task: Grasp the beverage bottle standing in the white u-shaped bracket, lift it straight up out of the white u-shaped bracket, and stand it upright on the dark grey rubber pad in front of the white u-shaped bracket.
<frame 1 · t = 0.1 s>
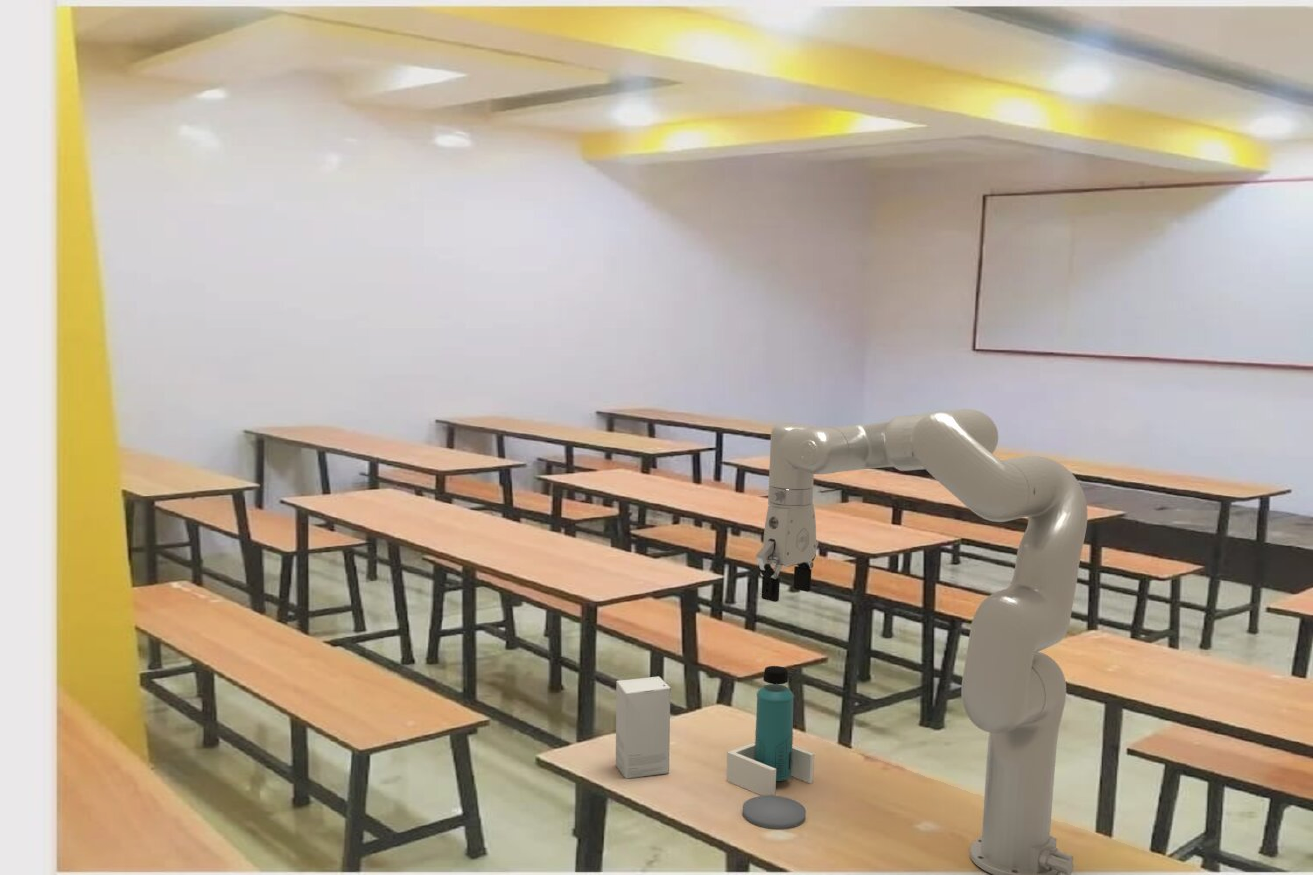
hand: (786, 595, 200), 31 cm above the table, tool pointing down, fingers open, 9 cm apart
skincare box: (641, 771, 202), on the table
beverage bottle: (771, 783, 198), on the table
pad: (773, 814, 185), on the table
white u-shaped bracket: (772, 781, 198), on the table
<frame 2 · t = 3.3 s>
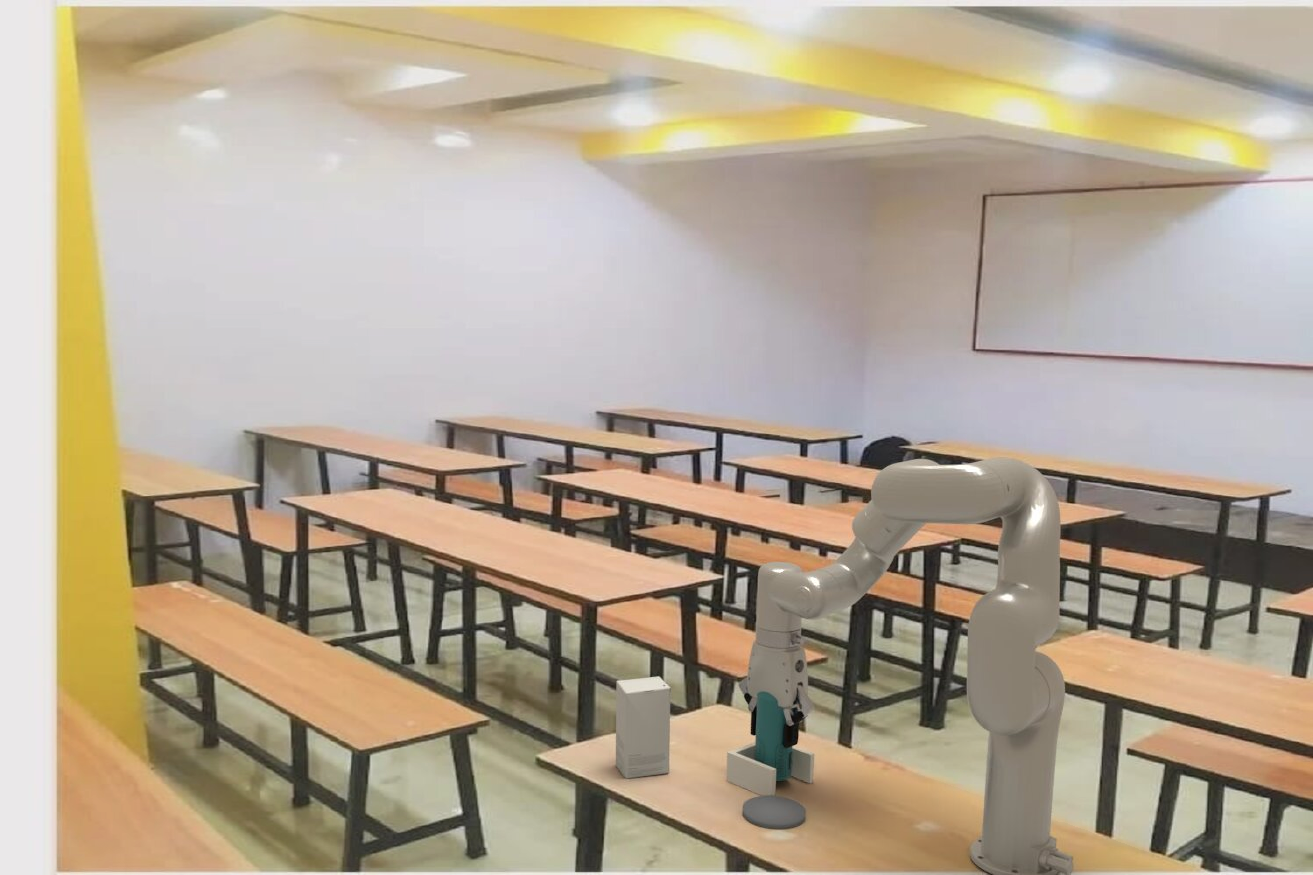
hand: (773, 738, 197), 8 cm above the table, tool pointing down, fingers closed on beverage bottle, 6 cm apart
beverage bottle: (772, 783, 198), on the table, touching gripper
everything else where it was.
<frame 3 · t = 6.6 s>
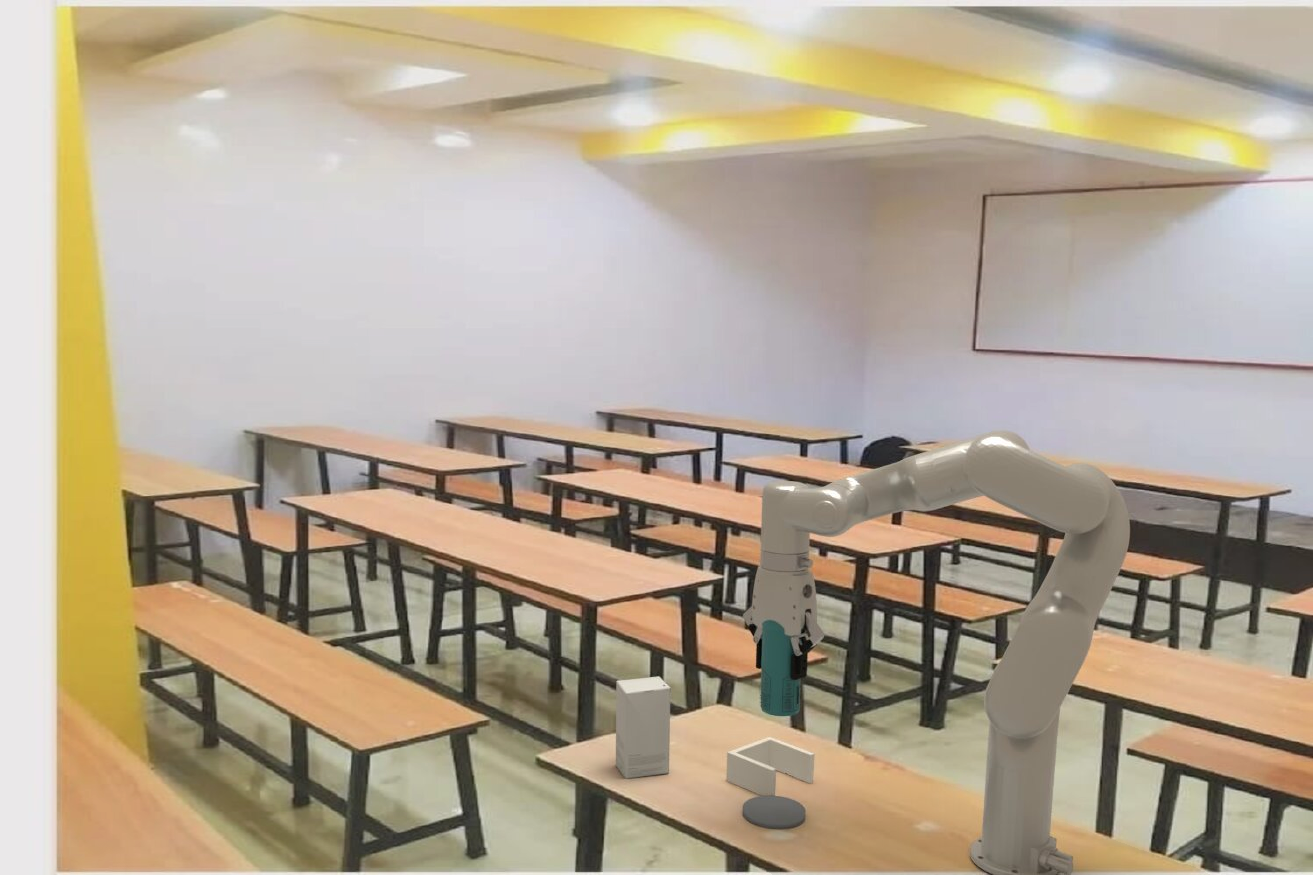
hand: (781, 671, 183), 23 cm above the table, tool pointing down, fingers closed on beverage bottle, 6 cm apart
beverage bottle: (779, 719, 184), point 15 cm above the table, touching gripper
everything else where it was.
when the fingers open (10 cm above the table, at t = 10.2 s): beverage bottle drops 1 cm, resting on pad.
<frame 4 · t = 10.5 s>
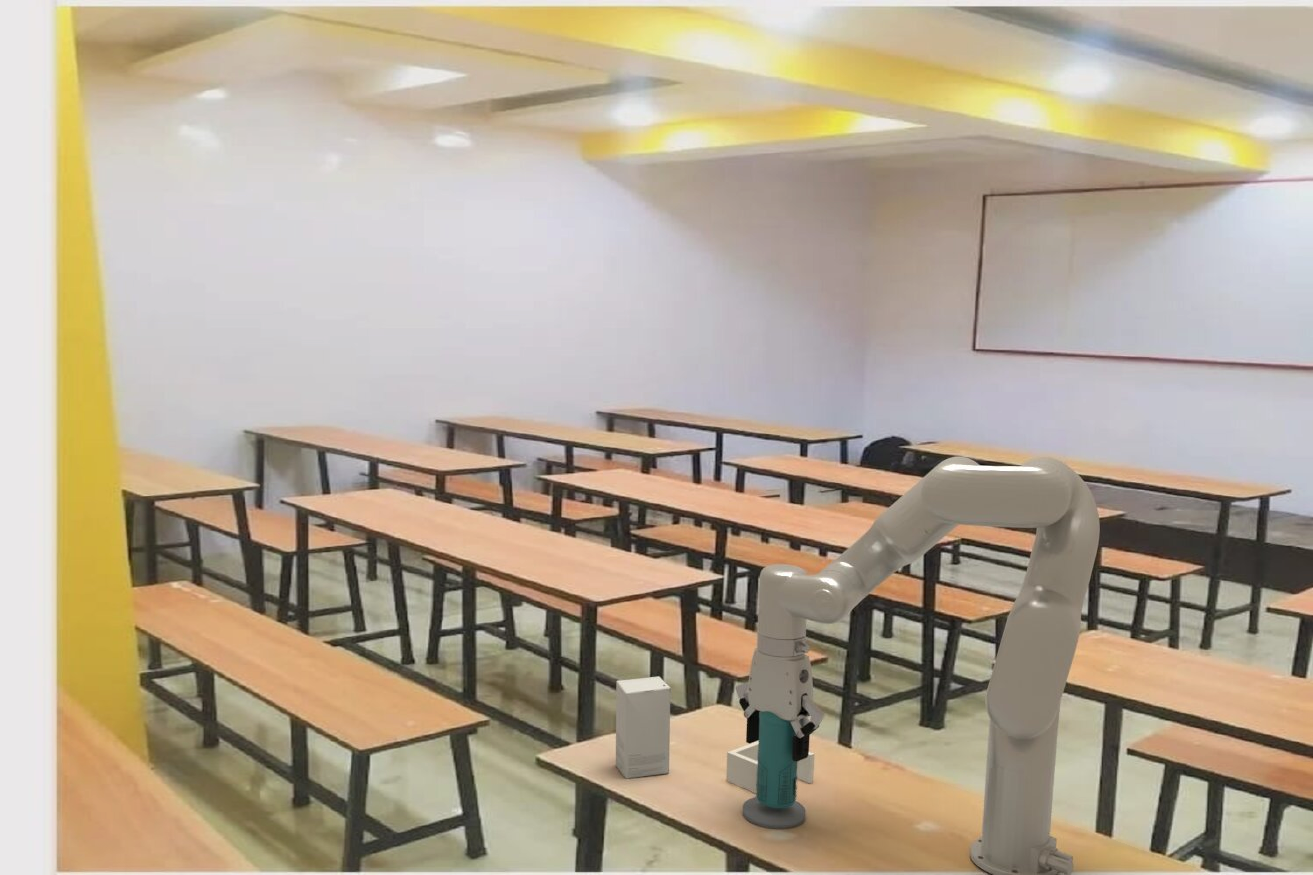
hand: (776, 749, 184), 11 cm above the table, tool pointing down, fingers open, 9 cm apart
beverage bottle: (775, 809, 185), point 1 cm above the table, touching pad
everything else where it was.
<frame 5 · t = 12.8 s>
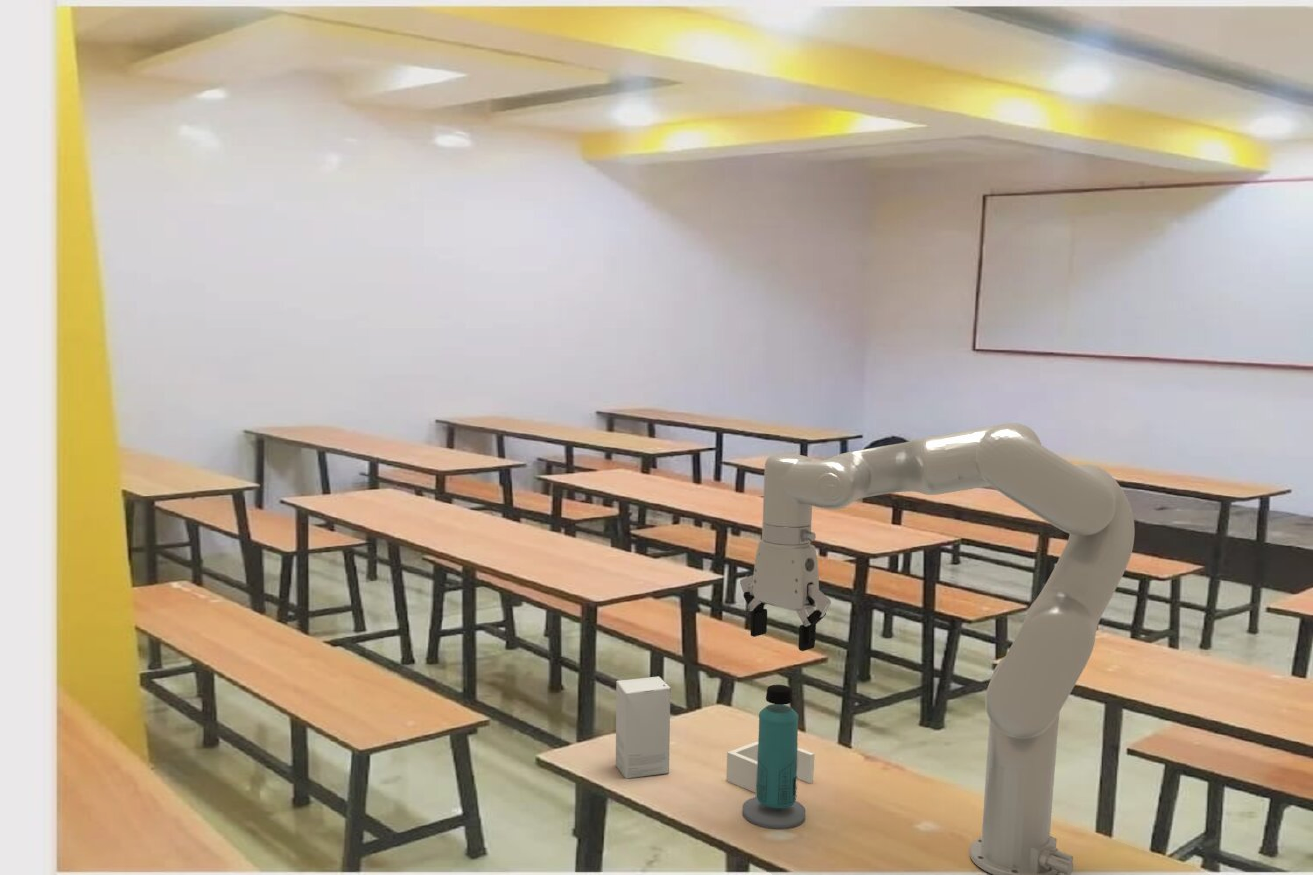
hand: (782, 641, 182), 28 cm above the table, tool pointing down, fingers open, 9 cm apart
nothing on the table moved.
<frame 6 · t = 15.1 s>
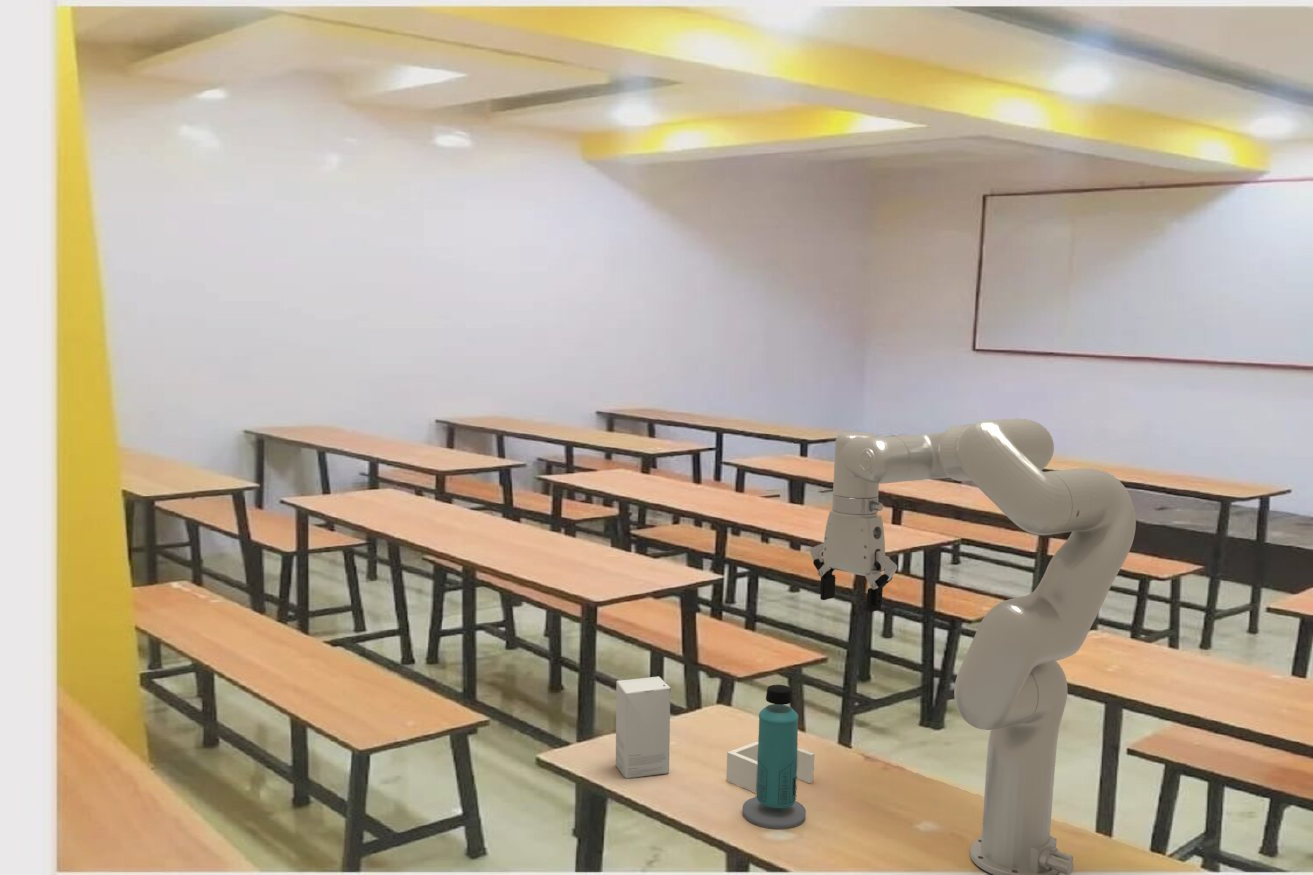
hand: (850, 604, 198), 30 cm above the table, tool pointing down, fingers open, 9 cm apart
nothing on the table moved.
at the end: beverage bottle 0.1 cm from the pad (horizontally); beverage bottle tilted 0°; the gripper is holding nothing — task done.
